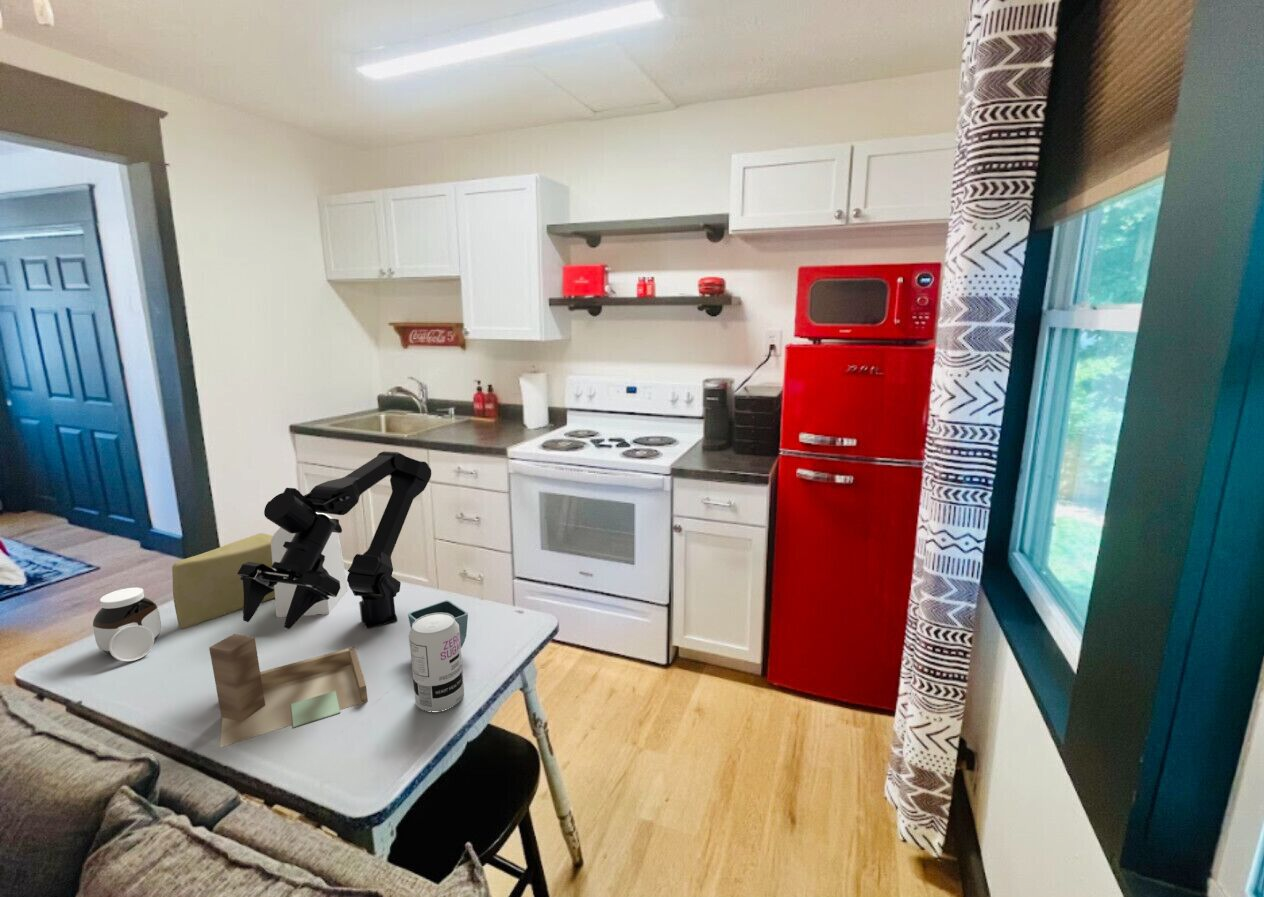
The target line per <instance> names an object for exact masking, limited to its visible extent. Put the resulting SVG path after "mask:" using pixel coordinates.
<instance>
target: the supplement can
mask: <svg viewBox="0 0 1264 897" xmlns="http://www.w3.org/2000/svg"><path fill="white" fill-rule="evenodd" d="M408 640H409V650H410V660H411V671H412V680H413V690H414V701H415V704H416V706H417V708H419V709H420V710H422V711H424V710H425V711H424V712H426V711H431V712H432V711H442V710H445V709H448V708H450V707H452V706H454V705H455V704H456V705H457V704H459V703H460V702H461V701H462V699H463V697H464V694H465V684H464V675H463V674H464V672H463V658H462V648H461V644H460V631H459V625H458V623H457V622H456V621H455V618H454V617H453V615H451V614H448V613H432V614H427V615H425V616H422V617H420V618H418V619H417V620H415V622H414V623H413V625H412V628H411V627H410V630H409V634H408ZM456 705H455V706H456ZM455 706H454V707H455ZM452 708H453V707H452ZM450 709H451V708H450ZM448 710H449V709H448ZM431 712H430V713H431ZM442 712H443V711H442Z"/></svg>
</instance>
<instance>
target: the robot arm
mask: <svg viewBox="0 0 1264 897" xmlns="http://www.w3.org/2000/svg"><path fill="white" fill-rule="evenodd" d="M388 476H390V478H389V482H390V483H389V484H390V486H391V494H390V496H389V499H388V501H387V504H386V507H385V508H384V511H383V513H382V516H381V519H380V520H379V523H378V526H377V528H376V530H375V533H374V534H373V537H372V539H371V542H370V544H369V547H368V550H366V551H365V552H364V553H363V554H360V553H356V554H355V555H354V557H353V560H352V562H351V565H350V567H349V568H348V569H347V573H348V574H347V577H346V581H347V585H348V586H349V587H348V588H350V590H351V591H352V593H353V596H355V597H357V596H358V597H360V598H361V601H359V602H358V605H359V613H360V620H361V622H362V623H363V624H364V626H365V628H366V629H371V628H374V627H378V626H382V625H387V624H390V623H393V622H396V621H398V616H397V614H396V606H395V598H396V597H397V594H398V593H399V592H400V591H401V581H400V580H398V579H396V578H395V577H393V572H394V567H393V562H392V554H393V552H394V549H395V547H396V544H397V541H398V539H399V536H400V534H401V532H402V528H403V527H404V524H405V521H406V519H407V516H408V513H409V511H410V509H411V506H412V504H413V501H414V500H415V499H416V498H417V497H418V496H419V495H420V494H421V493H423V492H424V491H425V489H426V487H427V486H428V483H429V482H430V480H431V478H432V469H431V467H430V466H429V463H427V462H426V461H419V460H417V459H415V458H411V457H409V456H406V455H404V454H403V453H401V452H399V451H387V450H384V451H381V452H378V454H377V456H376V457H373V458H371V460H369V461H367V462H366V463H364V464H362V465H361V466H359V467H358V468H356V469H355V470H353V471H352V472H350V473H349V474H347V475H345V476H343V477H341V478H336V479H331V480H327V481H324V482H322V483H320V484H317V485H315V486H314V487H313V488H312V489H311V491H310V492H308V493H306V494H304V495H303V494H302V492H300V491H299V490H298V489H297V488H294V487H286V488H285V489H284V491H283V492H281V493H279V494H277V495H275V496H274V497H272V499H270V500H269V501H268V502H267V503H266V505H265V506H264V510H263V514H264V517H265V519H267V520H269V521H270V522H272V523H273V524H275V525H276V526H278V527H279V528H280V527H281V528H283V529H284V530H286V531H287V532H289V533H295V535H294V537H293V539H292V541H291V542H286V541H285V543H284V545H283V547H285V548H286V549H287V550H286V552H285V554H284V555H283V557H282V559H281V561H280V563H279V562H274V563H273V565H272V568H274V569H276V571H275V570H273V569H271V568H270V567H268V566H266V565H264V564H262V563H254V562H247V563H245V564H242V566H241V568H240V570H239V571H238V573H237V575H239V576H241V578H240V580H241V581H243V591H244V605H243V608H242V610H243V611H242V621H244V622H246V623H250V621H251V620H252V618H253V617H254V616H255V614H256V612H257V611H258V609H259V607H260V606H261V603H263V602H262V600H263V599H264V597H265V596H266V595H267V594H269V593H271V592H273V591H274V589H272V588H270V587H273V586H275V585H276V584H277V583H278V582H280V583H287V584H293V585H297V586H296V589H295V592H294V595H293V598H292V601H291V604H290V607H289V610H288V613H287V616H286V617H285V620H284V625H283V628H284V629H285V630H290V629H291V628H292V627H293V626H294V625H295V624H297V622H298V621H299V620H300V619H301V618H302V617H303V614H304V613H305V612H306V611H307V610H308V609H310V608H311V607H312V606H313V605H314V604H315V603H318V602H320V601H323V600H328V599H329V597H328V596H332V597H336V596H337V594H338V592H339V590H340V581H339V580H337V579H335V578H334V577H332V576H330V575H329V573H328V572H327V570H326V569H324V568H323V562H324V560H325V559H324V558H325V556H324V555H322V554H321V553H322V551H323V549H324V547H325V545H326V543H327V541H328V539H329V537H330V535H331V534H332V532H336V533H338V534H339V533H340V534H341V533H342V531H343V529H342V528H343V527H342V525H341V524H340V519H339V518H333V519H331V518H332V517H331V518H329V517H327V516H326V515H324V514H327V515H336V516H345V515H346V514H348V513H349V512H350V511H351V510H352V509H354V507H355V506H356V505H358V503H359V500H360V496H361V495H363V493H365V492H366V491H367V490H369V489H371V488H372V487H373V486H375V485H376V484H377V483H380V482H381V481H383V479H386V477H388ZM316 512H317V513H324V514H317V513H316ZM283 577H285V578H283ZM294 579H295V580H294Z"/></svg>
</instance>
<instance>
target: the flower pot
mask: <svg viewBox="0 0 1264 897" xmlns="http://www.w3.org/2000/svg"><path fill="white" fill-rule="evenodd" d="M432 613H448V614H451V615H453V617H454V618H455V621H456V622H457V623H458V625H459V631H460V644H461V649H462V648H463V646H464V644H465V641H466V637H467V632H468V631H467V630H468V619H469V612H467V611H466V610H464V609H463V608H461V607H459V606H458V605H456V604H455V603H453V602H452V601H451V600H448V599H446V600H442V601H440V602H437V603H433V604H432V605H428V606H425V607H422V608H419V609H416V610H413V611H411V612H409V613H407V616H408V622H409V627H410V629H411V628H412V625H413V623H414V622H415V620H417V619H418V618H420V617H422V616H425V615H427V614H432Z"/></svg>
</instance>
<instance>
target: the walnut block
mask: <svg viewBox="0 0 1264 897" xmlns="http://www.w3.org/2000/svg"><path fill="white" fill-rule="evenodd" d="M256 644H257V643H256V637H253V636H247V635H245V634H244V635H243V634H237V633H233V634H231V635H229V636H227V637H225V638H224V639H222V640H219V641H218V642H217V643H214V644H213V645H211V646H209V647H208V648H209V654H210V659H211V665H212V671H213V672H212V673H213V677H214V678H213V679H214V683H215V690H216V693H217V700H218V707H219V711H220V717H221V718H222V719H223V718H227V719H231V720H236V721H240V722H243V721H244V720H245V719H247V718H248V717H250V716H251V715H253V714H254V713H255V712H257V711H258V710H260V709H261V708H263V707H264V706H265V700H264V694H263V687H262V681H261V675H260V672H261V671H260V670H261V669H260V663H259V656H258V651H257V645H256Z"/></svg>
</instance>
